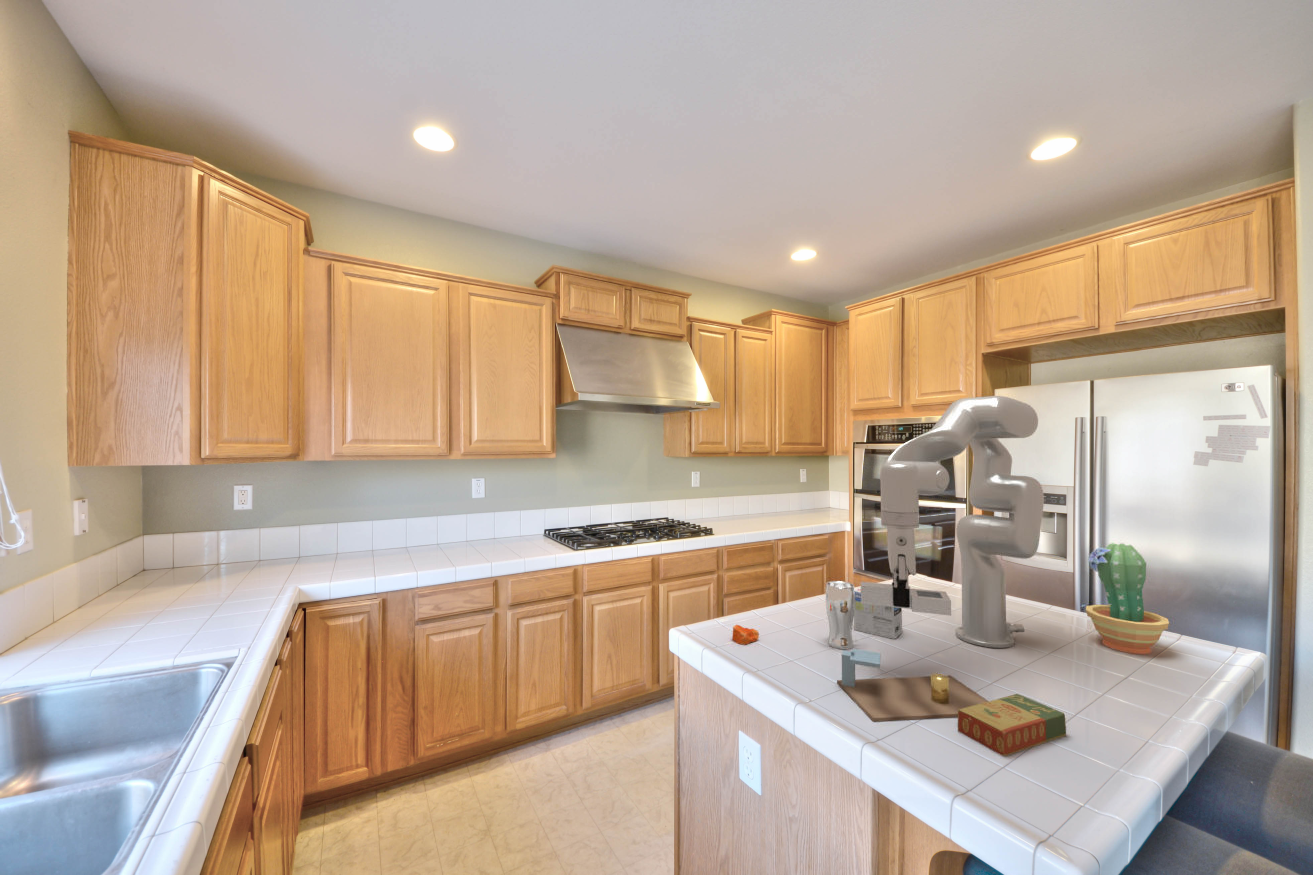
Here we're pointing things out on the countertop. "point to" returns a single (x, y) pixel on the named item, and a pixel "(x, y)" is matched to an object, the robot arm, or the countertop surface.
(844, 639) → the beer glass
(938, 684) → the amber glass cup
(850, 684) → the bracket
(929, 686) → the board
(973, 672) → the countertop surface
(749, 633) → the rock
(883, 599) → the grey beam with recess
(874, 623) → the light bulb box
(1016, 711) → the carton
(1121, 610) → the potted cactus
